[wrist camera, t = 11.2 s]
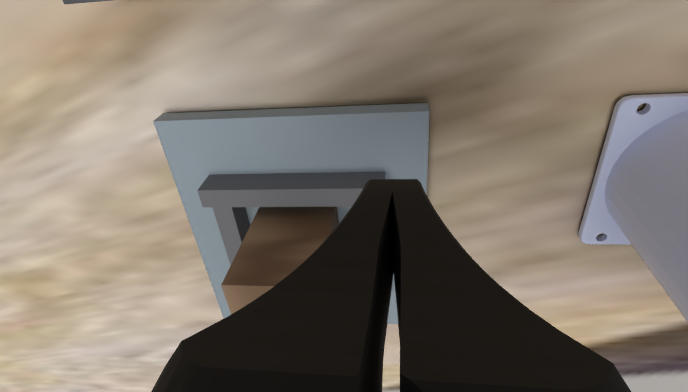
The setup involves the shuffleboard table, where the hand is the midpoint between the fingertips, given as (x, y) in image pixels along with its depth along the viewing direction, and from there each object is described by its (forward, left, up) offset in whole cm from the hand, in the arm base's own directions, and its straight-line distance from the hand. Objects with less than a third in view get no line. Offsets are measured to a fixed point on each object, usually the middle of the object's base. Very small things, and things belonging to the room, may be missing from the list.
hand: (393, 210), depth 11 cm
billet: (+5, +7, -8) cm, 12 cm away
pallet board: (+5, +8, -9) cm, 13 cm away
